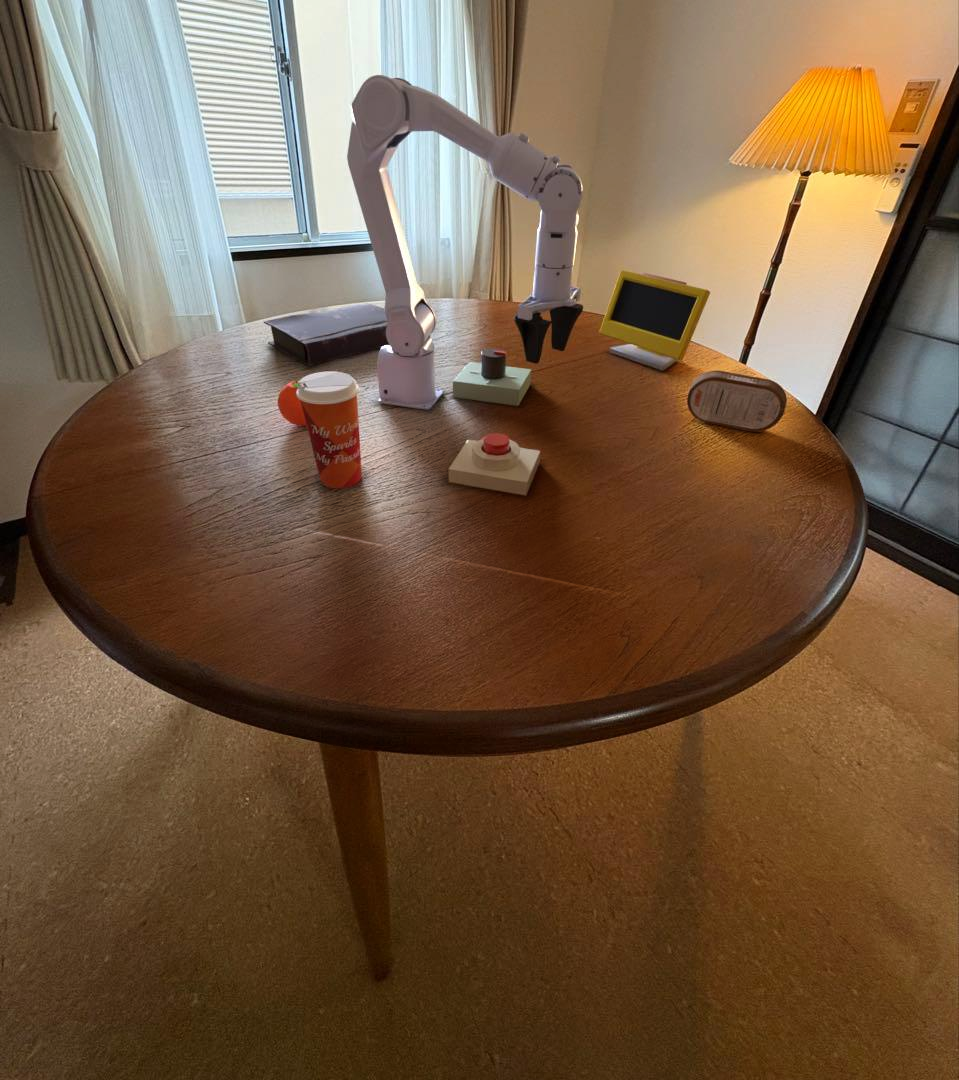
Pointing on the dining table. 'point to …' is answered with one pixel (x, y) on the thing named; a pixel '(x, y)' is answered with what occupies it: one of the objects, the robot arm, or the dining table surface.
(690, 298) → the toy computer monitor
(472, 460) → the button block
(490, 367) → the dial knob
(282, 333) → the diary
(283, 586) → the dining table surface
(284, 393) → the clementine
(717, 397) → the tin
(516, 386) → the dial panel
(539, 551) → the dining table surface
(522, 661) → the dining table surface
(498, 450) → the red button
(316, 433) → the paper cup
